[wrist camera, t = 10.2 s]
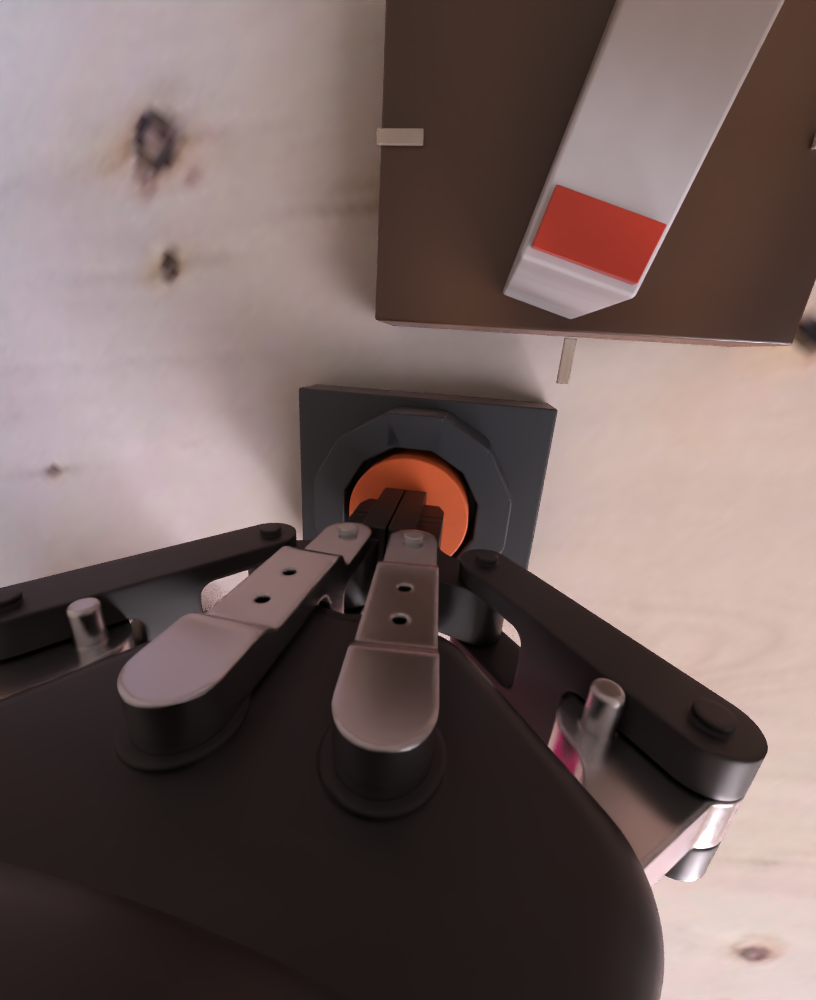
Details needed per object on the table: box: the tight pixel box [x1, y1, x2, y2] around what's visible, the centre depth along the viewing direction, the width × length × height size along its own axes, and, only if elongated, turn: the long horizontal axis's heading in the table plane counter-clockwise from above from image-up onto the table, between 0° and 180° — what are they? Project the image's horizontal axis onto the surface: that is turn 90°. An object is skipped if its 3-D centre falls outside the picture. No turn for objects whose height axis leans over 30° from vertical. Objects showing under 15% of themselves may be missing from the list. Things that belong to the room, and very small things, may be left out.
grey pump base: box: [299, 384, 557, 570], centre depth 17 cm, size 10×8×4 cm
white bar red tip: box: [503, 0, 785, 319], centre depth 9 cm, size 9×2×6 cm, turn 161°
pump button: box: [349, 448, 469, 556], centre depth 16 cm, size 4×4×2 cm
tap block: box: [375, 0, 816, 384], centre depth 13 cm, size 13×13×3 cm
